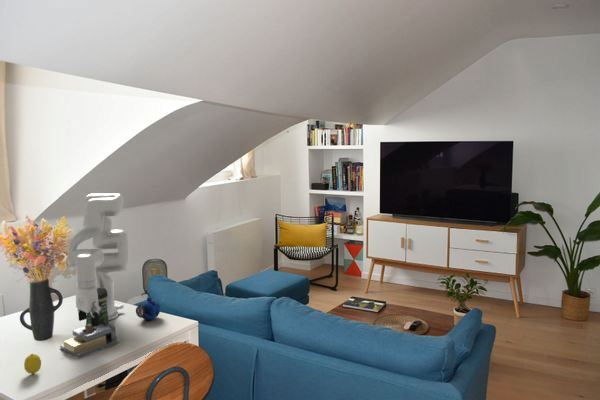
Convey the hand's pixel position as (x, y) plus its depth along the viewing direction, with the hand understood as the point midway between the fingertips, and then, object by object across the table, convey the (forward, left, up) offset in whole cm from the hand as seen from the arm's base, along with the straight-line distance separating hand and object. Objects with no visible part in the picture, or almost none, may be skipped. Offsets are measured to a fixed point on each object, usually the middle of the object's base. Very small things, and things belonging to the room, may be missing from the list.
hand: (89, 322), depth 208 cm
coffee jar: (-12, -14, -10) cm, 21 cm away
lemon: (+26, +6, -10) cm, 29 cm away
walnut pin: (0, 0, -10) cm, 10 cm away
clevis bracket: (0, 0, -10) cm, 10 cm away
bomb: (-33, -5, -10) cm, 35 cm away
